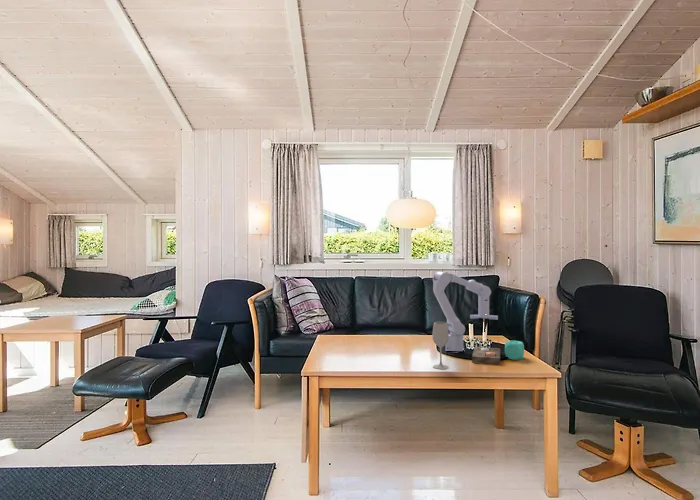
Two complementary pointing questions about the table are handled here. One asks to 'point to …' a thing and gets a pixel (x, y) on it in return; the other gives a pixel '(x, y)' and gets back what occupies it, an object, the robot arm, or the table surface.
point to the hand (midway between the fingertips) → (483, 332)
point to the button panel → (481, 357)
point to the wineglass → (440, 339)
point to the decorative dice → (514, 350)
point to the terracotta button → (490, 354)
